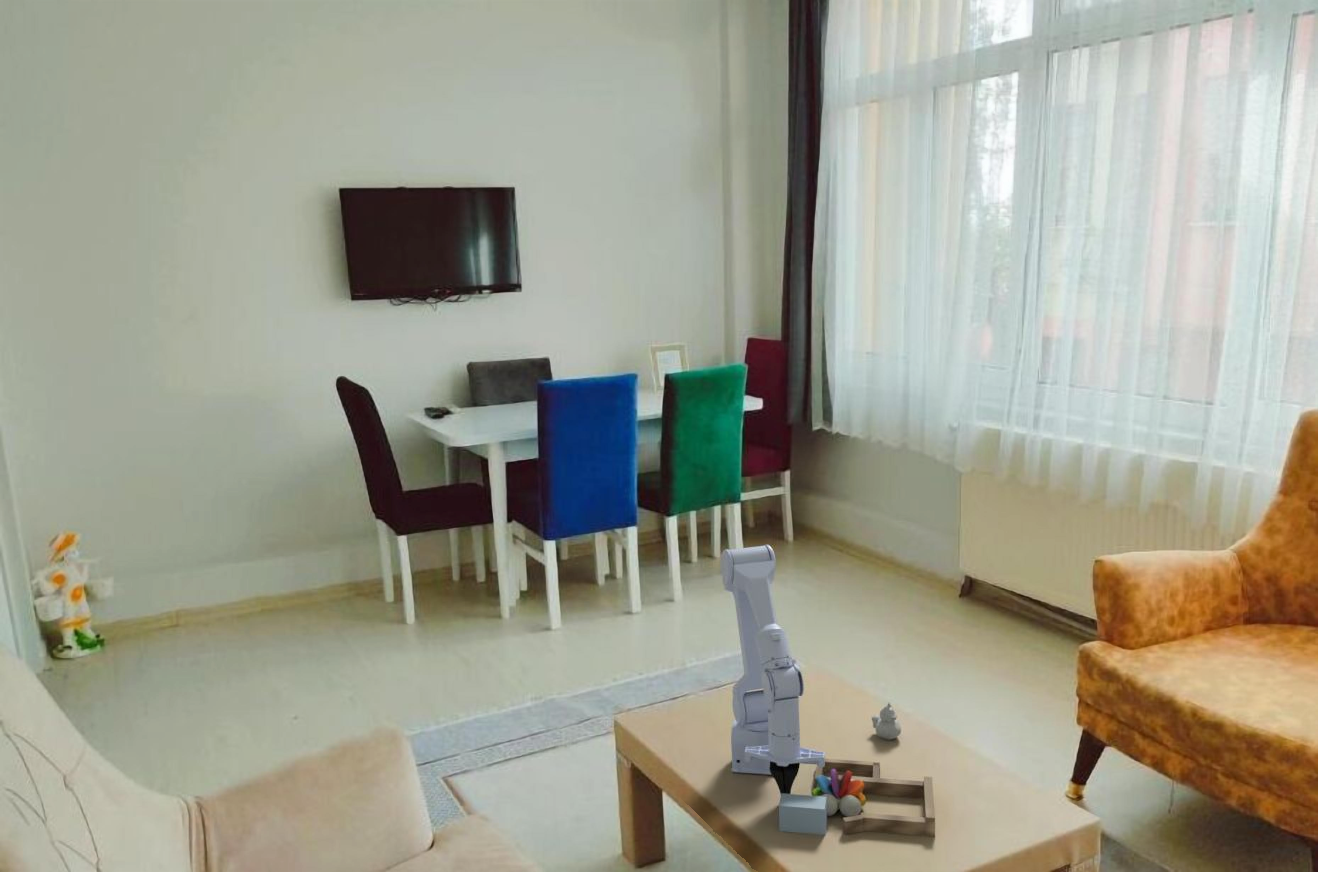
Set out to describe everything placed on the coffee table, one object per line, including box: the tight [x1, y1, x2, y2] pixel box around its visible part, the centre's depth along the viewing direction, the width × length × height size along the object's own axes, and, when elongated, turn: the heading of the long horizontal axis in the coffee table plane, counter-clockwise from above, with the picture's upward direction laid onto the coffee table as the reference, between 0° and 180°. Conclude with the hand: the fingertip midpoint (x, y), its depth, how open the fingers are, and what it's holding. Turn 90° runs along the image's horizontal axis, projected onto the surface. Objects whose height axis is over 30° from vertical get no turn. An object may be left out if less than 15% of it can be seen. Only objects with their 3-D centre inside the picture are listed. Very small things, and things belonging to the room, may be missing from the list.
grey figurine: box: [871, 702, 902, 741], centre depth 200 cm, size 5×7×8 cm
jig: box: [814, 758, 936, 838], centre depth 177 cm, size 22×22×4 cm
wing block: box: [778, 793, 828, 836], centre depth 171 cm, size 8×4×5 cm, turn 76°
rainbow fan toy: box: [811, 769, 867, 817], centre depth 176 cm, size 8×10×7 cm
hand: (786, 797), depth 178 cm, fingers closed
